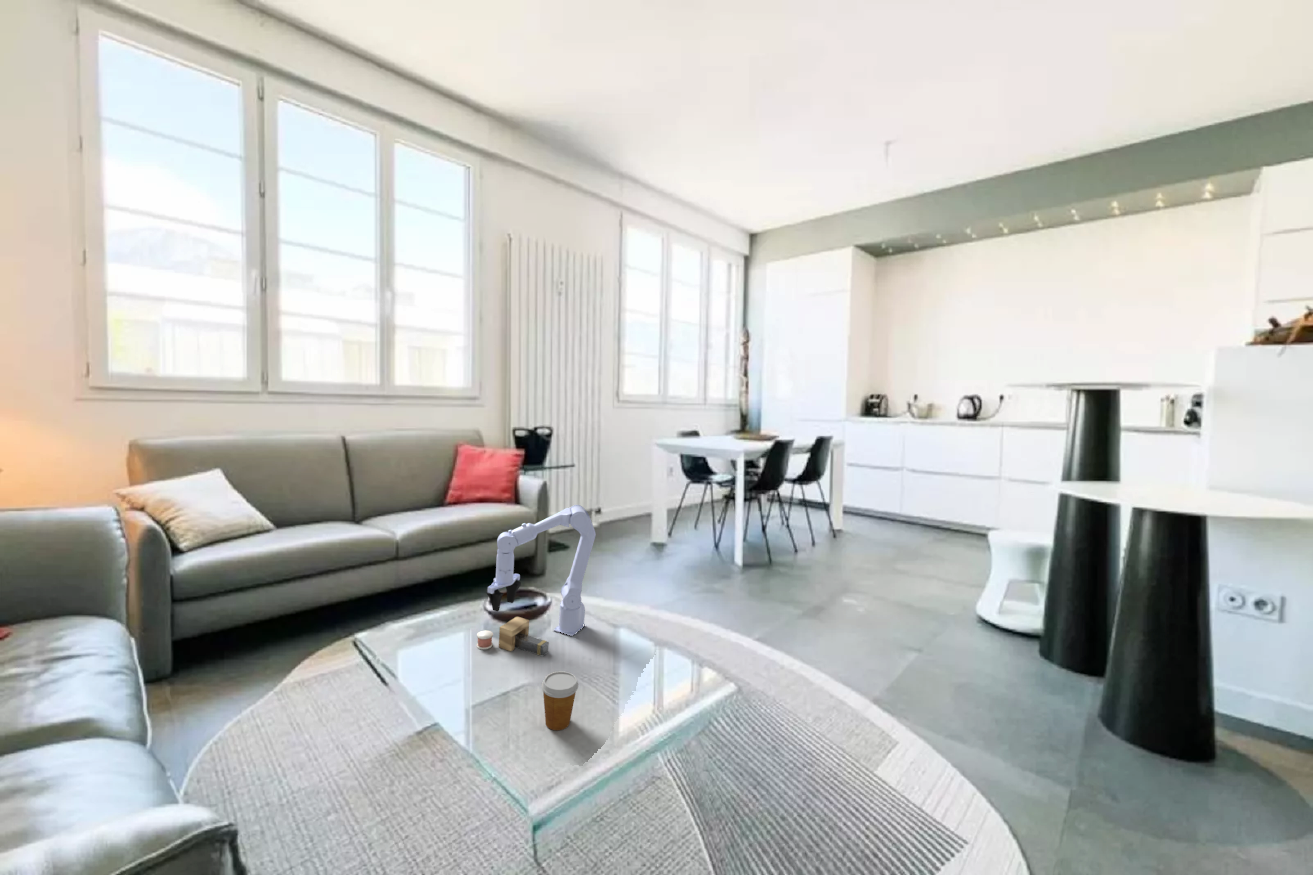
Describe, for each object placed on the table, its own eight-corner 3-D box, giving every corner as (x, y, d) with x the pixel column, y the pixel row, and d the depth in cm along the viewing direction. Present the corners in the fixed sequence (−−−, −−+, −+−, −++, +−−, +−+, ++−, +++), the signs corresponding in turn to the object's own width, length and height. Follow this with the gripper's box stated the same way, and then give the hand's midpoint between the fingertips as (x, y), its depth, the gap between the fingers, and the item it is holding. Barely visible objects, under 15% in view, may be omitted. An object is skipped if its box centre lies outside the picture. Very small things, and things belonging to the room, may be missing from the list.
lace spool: (483, 640, 186) (484, 629, 185) (495, 644, 184) (496, 632, 183) (473, 646, 181) (473, 635, 181) (485, 651, 179) (485, 639, 179)
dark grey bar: (508, 638, 188) (508, 629, 188) (548, 651, 182) (548, 641, 181) (501, 643, 185) (502, 633, 185) (542, 656, 179) (542, 646, 178)
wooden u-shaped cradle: (516, 635, 190) (517, 616, 189) (528, 639, 188) (529, 620, 187) (498, 647, 182) (499, 627, 181) (511, 651, 180) (512, 631, 179)
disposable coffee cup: (559, 707, 154) (562, 666, 152) (583, 723, 148) (586, 680, 146) (531, 722, 146) (533, 679, 145) (555, 740, 140) (558, 695, 139)
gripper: (509, 559, 197) (507, 596, 199) (480, 572, 184) (479, 611, 186) (525, 563, 194) (523, 600, 196) (498, 576, 181) (496, 616, 183)
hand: (503, 606), depth 191 cm, fingers open, 7 cm apart
